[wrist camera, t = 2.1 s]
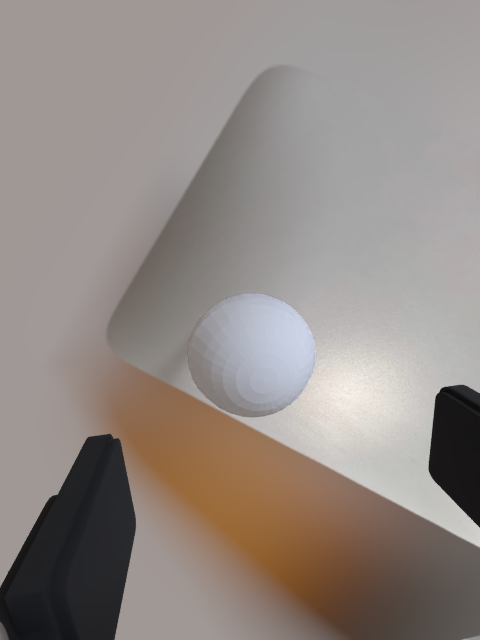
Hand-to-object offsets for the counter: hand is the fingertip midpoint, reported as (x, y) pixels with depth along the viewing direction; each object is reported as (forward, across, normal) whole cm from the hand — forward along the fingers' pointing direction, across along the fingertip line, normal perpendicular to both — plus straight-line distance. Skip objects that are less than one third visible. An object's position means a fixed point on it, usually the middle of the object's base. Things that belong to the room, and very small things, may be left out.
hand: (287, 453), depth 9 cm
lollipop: (+19, 0, -1) cm, 19 cm away
